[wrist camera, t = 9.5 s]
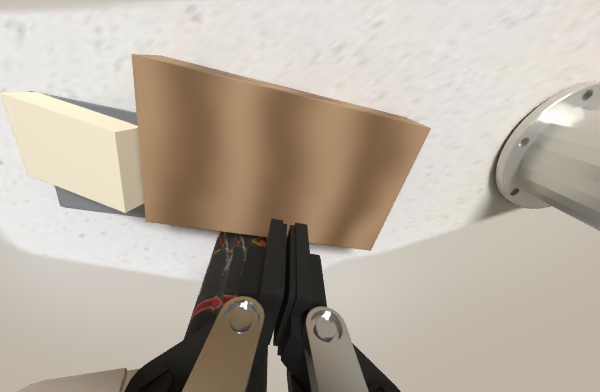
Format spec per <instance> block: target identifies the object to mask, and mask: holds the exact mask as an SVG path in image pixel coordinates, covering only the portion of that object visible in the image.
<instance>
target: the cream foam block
mask: <svg viewBox="0 0 600 392" xmlns="http://www.w3.org/2000/svg"><path fill="white" fill-rule="evenodd" d="M0 95H1V98H2V101H3V104H4V107H5V110H6V113H7V116H8V119H9V122H10V125H11V128H12V131H13V134H14V137H15V140H16V143H17V146H18V149H19V152H20V155H21V158H22V161H23V164H24V167H25V170H26V173H27V175H29V176H32V177H35V178H37V179H40V180H42V181H45V182H47V183H50V184H53V185H55V186H58V187H60V188H63V189H65V190H68V191H70V192H73V193H76V194H78V195H81V196H83V197H86V198H88V199H91V200H93V201H96V202H99V203H101V204H104V205H106V206H109V207H111V208H114V209H116V210H119V211H122V212H124V213H126V212H128V211H130V210H132V209H134V208H136V207H138V206H140V205H142V204H144V194H143V182H142V170H141V158H140V147H139V135H138V126H137V125H134V124H131V123H128V122H125V121H122V120H119V119H116V118H113V117H110V116H107V115H104V114H101V113H98V112H95V111H92V110H89V109H86V108H83V107H80V106H77V105H74V104H71V103H68V102H65V101H62V100H59V99H56V98H53V97H50V96H47V95H44V94H41V93H38V92H11V93H0Z"/></svg>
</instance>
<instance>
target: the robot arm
mask: <svg viewBox="0 0 600 392" xmlns="http://www.w3.org/2000/svg"><path fill="white" fill-rule="evenodd" d="M496 184H497V187H498V189H499V192H500V193H501V194H502V195H503V197H504V198H506V199H507V200H509V201H510V202H512V203H514V204H516V205H518V206H520V207H524V208H544V207H550V206H553V207H555V208H557V209H559V210H561V211H563V212H565V213H566V214H569V215H570V216H572V217H574V218H576V219H578V220H580V221H582V222H584V223H586V224H587V225H589V226H591V227H593V228H595V229H597V230H599V231H600V81H593V82H587V83H582V84H579V85H576V86H573V87H570V88H568V89H566V90H564V91H562V92H560V93H558V94H556V95H554V96H553V97H551V98H550V99H548V100H547V101H545V102H544V103H542V104H541V105H540V106H538V107H537V108H536V109H535V110H534V111H533V112H532V113H530V114H529V115H528V116H527V117H526V118H525V119H524V120H523V121H522V122H521V124H520V125H519V126H518V127H517V128H516V129H515V131H514V132H513V133H512V135H511V136H510V138H509V139H508V140H507V142H506V144H505V146H504V148H503V150H502V152H501V154H500V157H499V160H498V163H497V168H496ZM273 331H274V340H273V345H274V346H278V355H280V356H281V361H282V362H283V363H284V365H285V366H286V367H287V381H288V391H289V392H400V390H399V389H398V388H397V387H396V386H395V385H394V384H393V383H392V382H391V381H390V380H389V379H388V378H387V377H386V376H385V375H384V374H383V373H382V372H381V371H380V370H379V369H378V368H377V367H376V366H375V365H374V364H373V363H372V362H371V361H370V360H369V359H368V358H367V357H366V356H365V355H364V354H363V353H362V352H361V351H360V350H359V349H358V348H357V347H356V346H355V345H354V344H353V343H352V341H351V338H350V335H349V333H348V330H347V327H346V324H345V322H344V320H343V318H342V317H341V316H340V315H339V314H338V313H337V312H336V311H334V310H333V309H330V308H328V307H327V304H326V296H325V289H324V281H323V274H322V266H321V259H320V256H319V255H315V254H310V250H309V238H308V226H307V224H302V223H295V225H290V228H289V231H288V235H287V224H283V220H279V219H273V218H271V222H270V227H269V232H268V237H267V242H266V246H259V245H252V244H249V247H248V251H247V255H246V260H245V264H244V268H243V272H242V276H241V280H240V284H239V288H238V292H237V296H236V297H235V298H233V299H231V300H229V301H228V302H227V303H225V304H224V306H223V307H222V309H221V310H220V312H219V314H218V317H217V319H216V320H215V321H213V322H212V323H210V324H208V325H207V326H205V327H204V328H202V329H201V330H199V331H197V332H196V333H194V334H193V335H191V336H190V337H188V338H186V339H185V340H183V341H182V342H180V343H179V344H177V345H175V346H174V347H172V348H171V349H169V350H167V351H166V352H164V353H163V354H161V355H160V356H158V357H157V358H155V359H153V360H152V361H150V362H149V363H147V364H146V365H144V366H143V367H142V368H141V369H135V370H129V371H127V369H126V368H121V369H115V370H109V371H102V372H96V373H89V374H83V375H76V376H69V377H63V378H56V379H50V380H44V381H40V382H37V383H34V384H31V385H29V386H27V387H25V388H23V389H22V390H20V391H18V392H245V391H246V388H247V384H248V380H249V377H250V373H251V369H253V368H254V367H255V366H256V365H257V364H258V363H259V362H260V361H261V360H263V359H264V355H265V352H266V348H267V345H269V344H270V341H271V338H272V334H273Z"/></svg>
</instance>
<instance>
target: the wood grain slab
mask: <svg viewBox="0 0 600 392" xmlns="http://www.w3.org/2000/svg"><path fill="white" fill-rule="evenodd" d="M132 64H133V76H134V88H135V100H136V111H137V123H138V135H139V147H140V158H141V170H142V182H143V194H144V206H145V217H146V222H153V223H161V224H169V225H176V226H184V227H192V228H200V229H207V230H215V231H223V232H231V233H238V234H246V235H254V236H262V237H268V232H269V227H270V222H271V218H273V219H279V220H283V224H287V235H288V231H289V228H290V225H295V223H302V224H307V226H308V238H309V243H316V244H324V245H332V246H339V247H347V248H355V249H363V250H370V251H371V249H372V247H373V245H374V243H375V241H376V239H377V237H378V235H379V233H380V231H381V229H382V227H383V225H384V223H385V221H386V219H387V216H388V214H389V212H390V210H391V208H392V206H393V204H394V202H395V200H396V198H397V196H398V194H399V192H400V190H401V188H402V186H403V184H404V182H405V180H406V178H407V176H408V174H409V172H410V170H411V168H412V166H413V164H414V162H415V160H416V158H417V156H418V154H419V152H420V150H421V148H422V146H423V144H424V141H425V139H426V137H427V135H428V133H429V131H430V129H431V128H429V127H426V126H424V125H422V124H420V123H417V122H415V121H413V120H410V119H408V118H406V117H402V116H398V115H394V114H390V113H386V112H382V111H378V110H374V109H370V108H366V107H362V106H358V105H354V104H350V103H347V102H343V101H339V100H335V99H331V98H327V97H323V96H319V95H315V94H311V93H307V92H303V91H299V90H295V89H291V88H287V87H283V86H279V85H275V84H271V83H267V82H263V81H259V80H255V79H251V78H247V77H243V76H239V75H235V74H231V73H228V72H224V71H220V70H216V69H212V68H208V67H204V66H200V65H196V64H192V63H188V62H184V61H180V60H176V59H172V58H168V57H164V56H157V55H136V54H132Z"/></svg>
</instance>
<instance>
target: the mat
mask: <svg viewBox="0 0 600 392" xmlns="http://www.w3.org/2000/svg"><path fill="white" fill-rule="evenodd" d="M30 92H33V91H30ZM41 94H43V93H41ZM44 95H47V96H50V97H53V98H56V99H59V100H62V101H65V102H68V103H71V104H74V105H77V106H80V107H83V108H86V109H89V110H92V111H95V112H98V113H101V114H104V115H107V116H110V117H113V118H116V119H119V120H122V121H125V122H128V123H131V124H134V125H137V126H138V123H137V113H135V112H130V111H125V110H120V109H116V108H111V107H106V106H101V105H96V104H91V103H87V102H82V101H77V100H72V99H67V98H62V97H57V96H53V95H48V94H44ZM55 188H56V192H57V196H58V199H59V203H60V206H62V207H70V208H77V209H85V210H93V211H100V212H108V213H115V214H123V215H131V216H138V217H145V206H144V204H142V205H140V206H138V207H136V208H134V209H132V210H130V211H128V212H126V213H124V212H122V211H119V210H116V209H114V208H111V207H109V206H106V205H104V204H101V203H99V202H96V201H93V200H91V199H88V198H86V197H83V196H81V195H78V194H76V193H73V192H70V191H68V190H65V189H63V188H60V187H58V186H55Z"/></svg>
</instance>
